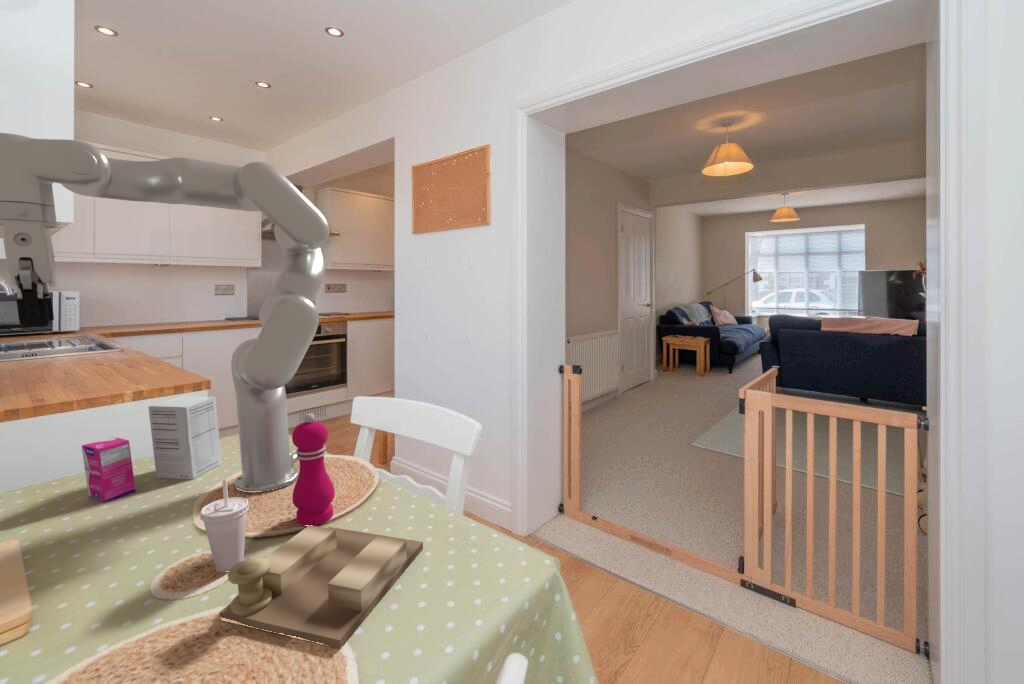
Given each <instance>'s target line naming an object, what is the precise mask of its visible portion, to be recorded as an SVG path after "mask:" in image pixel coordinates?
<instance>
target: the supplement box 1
mask: <svg viewBox="0 0 1024 684" xmlns="http://www.w3.org/2000/svg"><path fill="white" fill-rule="evenodd" d="M81 453H82V458H83V459H82V460H83V466H84V472H85V473H84V474H85V481H86V487H87V493H88V498H89V497H91V498H90V499H93V498H94V500H96V499H97V500H96V501H99V500H100V502H102V501H103V503H104V502H106V503H108V502H107V501H109V502H111V501H114V500H117V499H118V498H119V497H120V498H122V497H125V496H127V494H128V495H131V494H134V493H135V492H136V483H135V477H134V476H135V475H134V469H133V462H132V461H133V460H132V455H131V445H130V440H129V439H126V438H125V439H124V438H121V437H120V438H119V437H116V436H110V437H106V438H104V439H100V440H96V441H92V442H88V443H85V444H82V445H81ZM124 495H125V496H124ZM116 498H117V499H116ZM113 499H114V500H113ZM110 500H111V501H110Z"/></svg>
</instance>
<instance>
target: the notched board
mask: <svg viewBox="0 0 1024 684" xmlns="http://www.w3.org/2000/svg"><path fill="white" fill-rule="evenodd" d="M423 549H424V542H423V541H418V540H413V539H408V538H406V539H405V538H400V537H394V536H389V535H387V536H386V535H383V534H382V535H381V534H376V533H369V532H362V531H358V530H357V531H356V530H350V529H345V528H344V529H343V528H338V527H331V526H328V527H323V526H318V525H315V526H311V525H309V526H305V528H304V529H302V530H301V531H300V532H298V533H297V534H295V535H294V536H292V537H291V538H290V539H288V540H287V541H286V542H285V543H283V544H281V545H280V546H279V547H277V548H276V549H275V550H274V551H272V552H271V553H269V554H267V556H265V557H252V558H248V559H244V561H242V562H240V563H238V564H236V565H234V566H233V567H232V568H231V569H230V570H229V572H227V578H228V582H230V583H231V584H234V585H237V590H238V595H236V596H235V597H234V598H233V599H232V601H231V602H230V603H229V604H228V605H226V606H225V607H224V608H223V609H222V610H220V611H219V618H220V617H222V618H226V619H230V620H234V621H237V622H240V623H242V624H245V625H248V626H252V627H255V628H259V629H264V630H268V631H272V632H276V633H283V634H285V635H291V636H296V637H300V638H303V639H307V640H310V641H314V642H319V643H323V644H325V645H328V646H331V647H330V648H332V649H337V648H339V649H338V650H341V649H342V648H343V647H344V645H345V644H346V643H347V642H348V641H349V639H350V638H352V636H353V634H354V633H355V632H356V631H357V630H358V629H359V627H360V626H361V625H362V624H363V622H364V621H365V620H366V619H367V618H368V616H369V615H370V614H371V613H372V611H373V610H374V609H375V608H376V606H377V605H378V604H379V603H380V602H381V600H382V599H383V598H384V597H385V595H387V594H388V592H389V591H390V589H391V588H392V587H393V586H394V585H395V583H396V582H397V581H398V580H399V579H400V577H401V576H402V575H403V574H404V573H405V572H406V571H407V569H408V568H409V567H410V565H411V564H413V562H414V560H416V558H417V557H418V556H419V554H420V553H421V552H422V551H423ZM328 646H327V647H328ZM342 646H343V647H342ZM341 647H342V648H341Z"/></svg>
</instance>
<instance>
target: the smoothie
mask: <svg viewBox="0 0 1024 684" xmlns="http://www.w3.org/2000/svg"><path fill="white" fill-rule="evenodd" d="M221 482H222V483H221V484H222V492H223V494H222V495H223V498H221V499H218V500H214V501H213V502H210V503H208V504H206V505H205V506H203V507H202V508H201V509H200V516H199V519H200V520H201V521H202V522H203V524H204V528H205V531H206V536H207V540H208V544H209V547H210V551H211V552H210V553H211V556H212V559H213V560H212V561H213V564H214V566H215V571H216V570H217V571H216V572H218V571H219V572H218V573H226V572H225V571H229V570H230V569H231V568H232V567H233V566H234V565H236V564H238V563H240V562H242V561H244V560H245V544H246V543H245V542H246V527H247V526H246V525H247V512H248V510H249V509H250V505H249V500H248V499H246V498H244V497H240V496H239V497H237V496H234V497H233V496H232V497H229V494H228V483H227V482H228V481H227V479H225V478H224V479H222V480H221Z"/></svg>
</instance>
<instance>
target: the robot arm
mask: <svg viewBox="0 0 1024 684" xmlns="http://www.w3.org/2000/svg"><path fill="white" fill-rule="evenodd" d="M54 183H56V184H59V185H61V186H62V187H64V188H65V189H66V190H68V191H70V192H72V193H73V194H74V193H75V194H78V195H81V196H85V197H92V198H99V199H110V200H120V201H130V202H141V203H142V202H143V203H144V202H145V203H147V202H148V203H159V204H167V205H188V206H198V207H207V208H219V209H227V210H234V211H244V212H261V213H263V215H264V216H265V217H266V218H267V219H269V220H270V222H272V223H273V224H274V228H273V233H274V239H275V241H276V242H277V245H279V247H280V249H281V250H282V254H283V258H284V260H283V265H282V268H281V270H280V273H279V275H278V277H277V280H276V282H275V283H274V285H273V287H272V289H271V291H270V292H269V294H268V296H267V297H266V299H265V301H264V302H263V304H262V305H261V308H260V311H259V315H258V319H259V324H260V325H261V327H262V328H261V330H260V332H259V334H258V336H257V337H256V338H250V339H247V340H245V341H243V342H241V343H240V344H239V345H238V346H236V348H235V349H234V351H233V353H232V356H231V361H230V367H231V375H232V380H233V381H232V382H233V387H234V392H235V393H234V394H235V401H236V403H235V404H236V411H237V412H236V415H237V425H238V438H239V441H238V442H239V451H240V452H239V453H240V463H241V465H240V466H241V475H239V476H238V477H236V478H235V480H234V482H233V485H234V484H235V485H234V487H235V486H236V487H237V488H239V489H241V490H244V491H267V490H272V489H276V488H279V489H281V488H280V487H282V488H284V487H283V486H285V487H287V486H289V485H291V484H293V483H294V482H296V481H297V479H298V476H299V471H300V470H299V469H298V468H297V467H295V466H294V465H295V463H296V461H299V459H298V458H297V457H296V455H297V453H296V452H294V453H291V451H290V438H289V437H290V436H289V435H290V433H289V422H288V421H289V420H288V403H287V400H288V399H287V392H286V385H287V384H288V383H289V382H290V381H291V380H292V378H294V376H295V374H296V372H297V371H298V369H299V368H300V366H301V364H302V361H303V360H304V357H305V355H306V353H307V352H308V350H309V347H310V346H311V344H312V342H313V340H314V338H315V335H316V333H317V330H318V327H319V321H320V317H319V316H320V315H319V312H318V309H317V307H316V305H315V303H314V301H315V300H316V298H317V295H318V293H319V290H320V288H321V286H322V283H323V280H324V278H325V273H326V265H325V258H324V255H323V252H322V247H323V246H324V245H325V244H327V242H328V240H329V238H330V225H329V223H328V221H327V219H326V217H325V215H323V214H322V212H321V211H320V210H319V209H318V208H317V207H316V206H315V205H314V204H313V203H312V202H311V201H310V200H309V199H308V198H307V197H306V196H305V195H304V194H303V192H301V191H300V190H299V189H298V188H297V187H296V186H295V185H294V184H293V183H292V181H290V180H289V179H288V178H287V177H285V175H283V174H282V172H280V171H279V170H278V169H276V168H275V167H273V165H270V164H268V163H265V162H262V161H251V162H247V163H246V164H245V165H243V166H238V165H232V164H225V163H219V162H214V161H213V162H212V161H206V160H200V159H194V158H189V157H168V158H165V159H160V160H159V159H157V160H152V161H151V160H149V161H147V160H145V161H139V160H127V159H119V158H114V157H113V158H111V157H107V155H106V154H105V153H104V152H103V151H102V150H100V148H98V147H96V146H95V145H93V144H91V143H89V142H86V141H82V140H77V139H59V138H58V139H55V138H54V139H51V138H34V137H33V138H32V137H29V136H25V135H21V134H15V133H8V132H0V227H1V229H2V230H1V231H2V232H1V233H2V239H3V246H4V254H5V261H6V265H7V271H8V275H9V278H10V283H11V285H12V286H14V287H16V295H17V296H16V297H17V299H16V306H17V314H18V315H17V316H18V320H19V325H21V326H42V325H43V326H44V325H48V324H49V323H50V322H52V321H53V320H55V317H54V310H53V309H54V308H53V302H52V297H50V291H49V287H50V288H56V287H57V286H58V285H59V281H58V275H57V270H56V269H57V268H56V261H55V254H54V253H55V252H54V246H53V241H52V237H51V232H50V229H58V222H57V215H56V208H55V206H56V205H55V199H54V198H55V197H54V190H53V184H54ZM292 482H293V483H292ZM290 483H291V484H290ZM288 484H289V485H288ZM286 485H287V486H286ZM276 490H277V489H276ZM272 491H273V490H272ZM267 492H268V491H267Z"/></svg>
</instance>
